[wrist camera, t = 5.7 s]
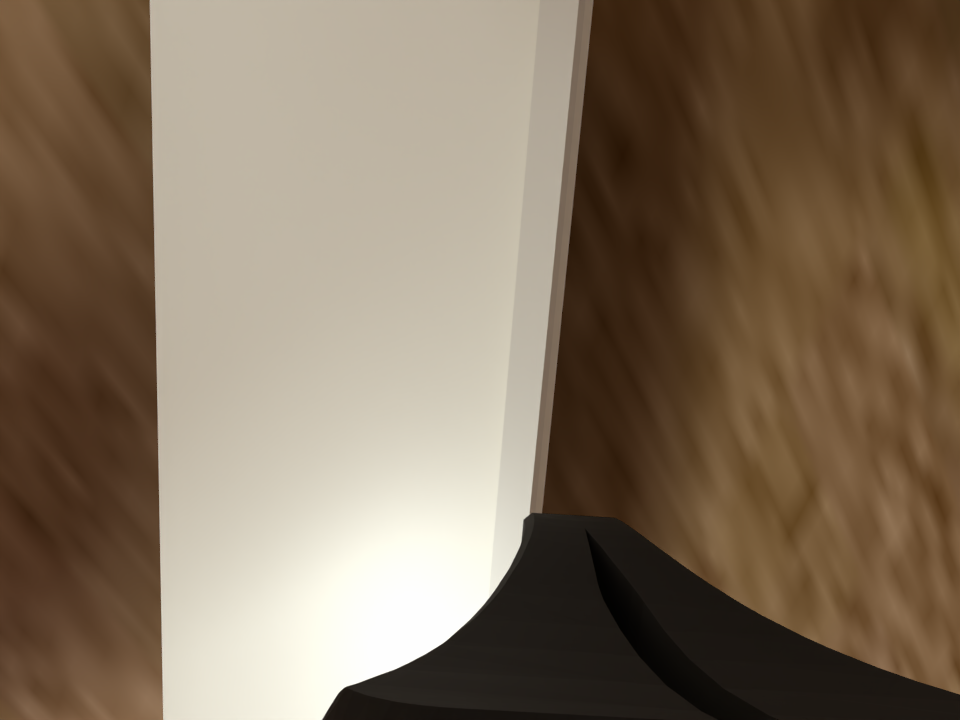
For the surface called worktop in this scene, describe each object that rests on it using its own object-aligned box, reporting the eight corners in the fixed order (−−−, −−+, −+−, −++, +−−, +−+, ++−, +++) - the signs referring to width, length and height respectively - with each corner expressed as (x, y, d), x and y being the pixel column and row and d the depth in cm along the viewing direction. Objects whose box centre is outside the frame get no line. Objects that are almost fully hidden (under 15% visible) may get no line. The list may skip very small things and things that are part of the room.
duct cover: (497, 952, 18) (481, 1013, 16) (186, 850, 20) (149, 897, 18) (595, -12, 13) (582, -36, 12) (177, -19, 15) (126, -39, 14)
